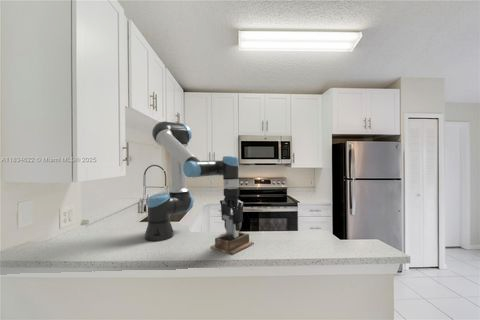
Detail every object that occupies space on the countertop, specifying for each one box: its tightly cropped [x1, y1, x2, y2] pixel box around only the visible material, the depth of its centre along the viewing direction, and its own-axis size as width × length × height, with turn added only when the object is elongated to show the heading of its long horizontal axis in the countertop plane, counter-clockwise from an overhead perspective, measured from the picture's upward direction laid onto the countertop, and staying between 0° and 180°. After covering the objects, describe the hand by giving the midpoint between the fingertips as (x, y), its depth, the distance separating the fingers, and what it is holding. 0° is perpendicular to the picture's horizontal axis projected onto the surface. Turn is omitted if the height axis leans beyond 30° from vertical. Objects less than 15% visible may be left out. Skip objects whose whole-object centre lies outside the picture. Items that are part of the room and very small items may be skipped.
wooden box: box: [210, 231, 255, 255], centre depth 116 cm, size 14×16×5 cm
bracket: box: [221, 211, 238, 241], centre depth 116 cm, size 4×9×13 cm, turn 142°
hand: (232, 236), depth 116 cm, fingers closed on bracket, 4 cm apart
